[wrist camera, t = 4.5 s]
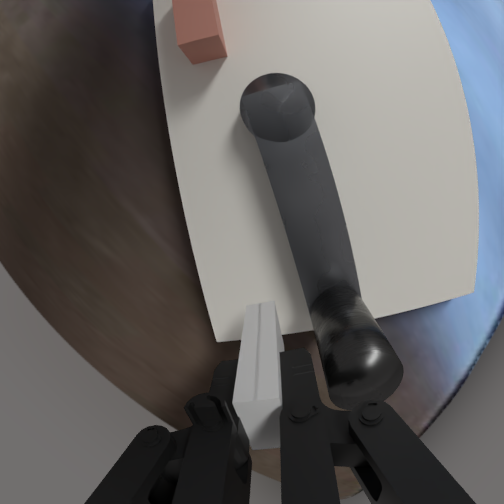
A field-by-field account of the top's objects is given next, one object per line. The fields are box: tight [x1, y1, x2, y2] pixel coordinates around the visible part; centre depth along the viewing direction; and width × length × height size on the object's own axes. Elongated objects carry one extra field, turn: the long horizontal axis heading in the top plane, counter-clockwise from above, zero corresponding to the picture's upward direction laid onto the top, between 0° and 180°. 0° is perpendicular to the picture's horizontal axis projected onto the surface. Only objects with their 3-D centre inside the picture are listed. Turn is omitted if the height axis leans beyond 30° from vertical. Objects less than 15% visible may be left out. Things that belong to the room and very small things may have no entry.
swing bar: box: [240, 73, 403, 410], centre depth 11 cm, size 14×4×8 cm, turn 18°
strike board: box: [153, 0, 479, 342], centre depth 13 cm, size 26×19×5 cm
